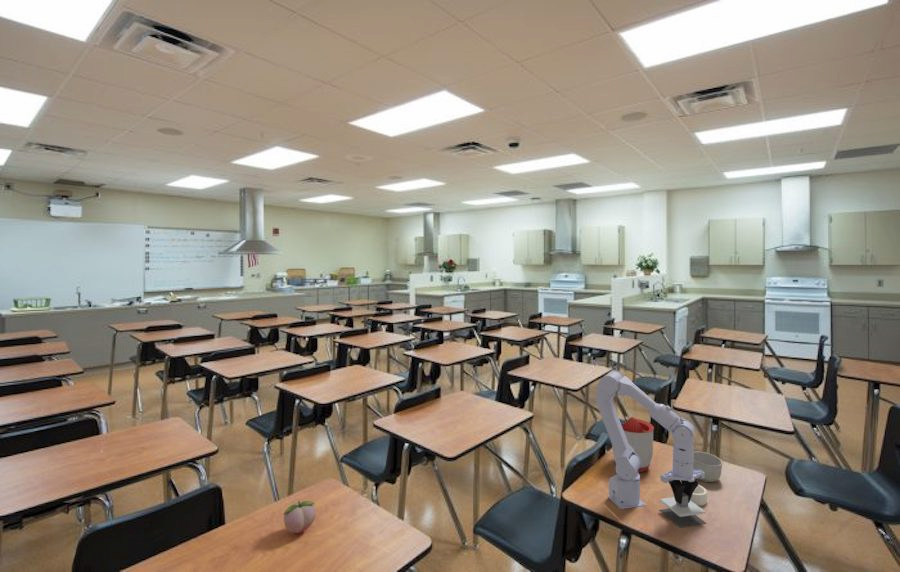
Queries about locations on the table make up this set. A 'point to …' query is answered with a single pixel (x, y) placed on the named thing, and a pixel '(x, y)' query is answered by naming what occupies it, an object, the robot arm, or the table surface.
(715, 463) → the teacup
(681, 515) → the lid
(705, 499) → the bowl
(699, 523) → the mat
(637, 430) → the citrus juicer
